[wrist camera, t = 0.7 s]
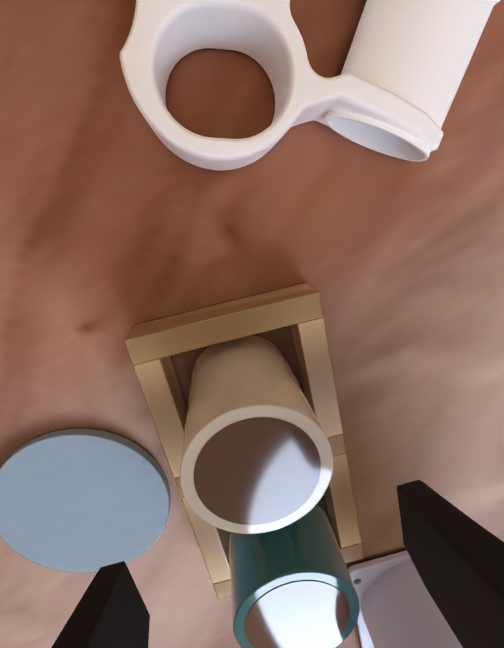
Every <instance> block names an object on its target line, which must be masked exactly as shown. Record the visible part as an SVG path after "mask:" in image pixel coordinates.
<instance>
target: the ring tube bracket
mask: <svg viewBox="0 0 504 648" xmlns="http://www.w3.org/2000/svg"><path fill="white" fill-rule="evenodd" d="M499 1H500V0H367V1H366V4H365V7H364V10H363V12H362V15H361V18H360V21H359V24H358V27H357V30H356V32H355V35H354V38H353V41H352V44H351V47H350V50H349V52H348V55H347V58H346V61H345V64H344V67H343V70H342V72H341V75H339V76H335V77H332V78H324V77H321V76H319V75H318V74H316V73H315V72H314V71H313V69H312V68H311V66H310V64H309V61H308V57H307V52H306V48H305V45H304V42H303V39H302V36H301V34H300V32H299V30H298V28H297V26H296V24H295V22H294V20H293V18H292V16H291V12H290V0H136V7H135V14H134V19H133V23H132V27H131V30H130V33H129V36H128V38H127V40H126V43H125V45H124V46H123V48H122V50H121V52H120V55H119V56H120V62H121V67H122V71H123V75H124V78H125V81H126V84H127V87H128V89H129V92H130V94H131V96H132V98H133V100H134V102H135V104H136V106H137V107H138V109H139V111H140V112H141V114H142V115H143V117H144V118H145V120H146V121H147V122H148V124H149V125H150V127H151V128H152V130H153V131H154V133H155V134H156V135H157V137H158V138H159V139H160V141H161V142H162V143H163V144H164V145H165V146H166V147H167V148H168V149H169V150H170V151H172V152H173V153H174V154H175V155H177V156H178V157H180V158H181V159H183V160H184V161H186V162H188V163H190V164H192V165H195V166H198V167H201V168H205V169H210V170H232V169H237V168H241V167H244V166H246V165H249V164H251V163H253V162H255V161H256V160H258V159H260V158H261V157H262V156H264V155H265V154H266V153H267V152H268V151H269V150H270V149H271V148H272V147H273V146H274V145H275V144H276V143H277V142H278V141H279V140H280V139H281V138H282V136H283V135H284V134H285V133H286V132H287V131H288V130H289V129H290V127H293V126H296V125H299V124H302V123H305V122H308V121H312V120H315V121H317V122H320V123H322V124H324V125H327V126H329V127H330V128H331V129H333V130H334V131H335V132H337V133H339V134H340V135H342V136H344V137H345V138H347V139H349V140H351V141H353V142H355V143H357V144H359V145H362V146H364V147H366V148H369V149H371V150H374V151H377V152H380V153H383V154H386V155H389V156H393V157H396V158H400V159H404V160H409V161H425V160H427V159H428V157H429V155H430V152H431V151H434V150H436V149H437V148H438V146H439V144H440V141H441V139H442V137H443V134H444V133H443V131H442V130H441V127H442V124H443V122H444V120H445V118H446V115H447V113H448V111H449V108H450V106H451V104H452V101H453V99H454V97H455V94H456V92H457V90H458V87H459V85H460V83H461V80H462V78H463V76H464V73H465V71H466V69H467V66H468V64H469V62H470V59H471V57H472V55H473V52H474V50H475V48H476V45H477V43H478V41H479V38H480V36H481V34H482V31H483V29H484V27H485V24H486V22H487V20H488V18H489V15H490V13H491V11H492V8H493V6H494V5H495V4H496V3H498V2H499ZM204 48H213V49H225V50H235V51H239V52H242V53H244V54H246V55H248V56H250V57H252V58H253V59H254V60H256V61H257V62H258V63H259V64H260V65H261V66H262V68H263V69H264V70H265V72H266V73H267V75H268V77H269V79H270V81H271V83H272V86H273V90H274V95H275V112H274V117H273V121H272V124H271V125H270V126H269V127H268V128H267V129H265V130H264V131H262V132H261V133H259V134H257V135H255V136H252V137H249V138H243V139H228V138H211V137H204V136H201V135H198V134H195V133H193V132H191V131H189V130H187V129H186V128H184V127H183V126H182V125H180V124H179V123H178V122H177V121H176V120H175V119H174V118H173V117H172V116H171V114H170V113H169V112H168V110H167V107H166V99H165V94H166V86H167V81H168V78H169V76H170V73H171V71H172V70H173V68H174V66H175V65H176V64H177V63H178V61H179V60H180V59H182V58H183V57H184V56H185V55H187V54H189V53H190V52H192V51H195V50H198V49H204Z"/></svg>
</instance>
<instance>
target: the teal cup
mask: <svg viewBox="0 0 504 648" xmlns="http://www.w3.org/2000/svg"><path fill="white" fill-rule="evenodd" d="M228 543H229V561H230V580H231V598H232V617H233V631H234V635H235V638H236V640H237V642H238V644H239V645H240V646H241V648H335V647H337V646H338V645H339V644H341V643H342V642H343V641H344V640H345V639H346V638H347V637H348V636H349V634H350V633H351V632H352V630H353V629H354V627H355V625H356V623H357V620H358V617H359V612H360V603H359V598H358V594H357V592H356V589H355V587H354V584H353V581H352V579H351V576H350V574H349V571H348V568H347V566H346V563H345V561H344V558H343V556H342V553H341V550H340V548H339V545H338V543H337V540H336V537H335V535H334V532H333V530H332V527H331V525H330V522H329V519H328V517H327V514H326V512H325V509H324V506H323V504H322V501H321V499H320V501H319V502H318V503H317V504H316V505H315V507H314V508H313V509H311V510H310V511H309V512H308V513H307V514H306V515H304V516H303V517H302V518H300V519H299V520H297V521H295V522H294V523H292V524H290V525H288V526H285V527H283V528H280V529H277V530H274V531H270V532H265V533H257V534H242V533H234V532H229V531H228Z"/></svg>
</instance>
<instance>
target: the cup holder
mask: <svg viewBox="0 0 504 648" xmlns="http://www.w3.org/2000/svg"><path fill="white" fill-rule="evenodd" d="M289 325H290V326H291V331H292V336H293V341H294V346H295V351H296V356H297V361H298V366H299V371H300V376H301V381H302V386H303V391H304V395H305V396H306V398H307V400H308V402H309V404H310V406H311V408H312V410H313V412H314V414H315V416H316V418H317V419H318V421H319V423H320V425H321V427H322V429H323V431H324V433H325V435H326V437H327V439H328V441H329V443H330V446H331V450H332V455H333V471H332V476H331V480H330V482H329V485H328V487H327V489H326V491H325V493H324V494H325V499H326V504H327V509H328V514H329V518H328V519H329V522H330V525H331V527H332V530H333V532H334V535H335V537H336V540H337V543H338V545H339V548H340V550H341V553H342V556H343V558H344V561H345V563H349V562H352V561H356V560H359V559H363V558H364V554H363V548H362V543H361V537H360V531H359V526H358V520H357V514H356V508H355V502H354V496H353V490H352V484H351V478H350V472H349V466H348V461H347V455H346V449H345V443H344V437H343V430H342V424H341V418H340V412H339V407H338V401H337V395H336V389H335V383H334V377H333V371H332V365H331V359H330V353H329V347H328V342H327V336H326V330H325V324H324V318H323V313H322V307H321V301H320V295H319V292H318V291H317V290H315V289H314V288H313V287H311V286H310V285H308V284H307V283H303V284H299V285H295V286H291V287H287V288H283V289H279V290H275V291H270V292H266V293H262V294H258V295H254V296H250V297H246V298H242V299H238V300H234V301H230V302H226V303H222V304H218V305H214V306H210V307H206V308H202V309H198V310H194V311H190V312H186V313H182V314H178V315H174V316H170V317H166V318H162V319H157V320H153V321H149V322H145V323H141V324H137V325H135V326H134V327H133V328H132V330H131V331H130V333H129V334H128V335H127V337H126V338H125V340H124V342H125V345H126V347H127V350H128V353H129V356H130V358H131V361H132V364H133V367H134V369H135V372H136V375H137V378H138V380H139V383H140V386H141V389H142V391H143V394H144V397H145V400H146V402H147V405H148V408H149V410H150V413H151V416H152V419H153V421H154V424H155V427H156V430H157V432H158V435H159V438H160V441H161V443H162V446H163V449H164V452H165V454H166V457H167V460H168V463H169V465H170V468H171V471H172V474H173V476H174V478H175V481H176V484H177V487H178V490H179V492H180V495H181V496H182V501H183V503H184V506H185V509H186V512H187V514H188V517H189V520H190V523H191V525H192V528H193V531H194V534H195V536H196V539H197V542H198V545H199V547H200V550H201V553H202V556H203V558H204V561H205V564H206V567H207V569H208V572H209V575H210V578H211V580H212V583H213V586H214V589H215V592H216V595H217V597H218V599H220V598H224V597H227V596H231V580H230V561H229V543H228V533H227V531H225V530H222V529H219V528H217V527H215V526H213V525H211V524H209V523H207V522H206V521H204V520H203V519H202V518H201V517H199V516H198V515H197V514H196V513H195V512H194V511H193V510H192V508H191V507H190V506H189V504H188V503H187V501H186V499H185V497H184V494H183V492H182V488H181V485H180V464H181V456H182V448H183V439H184V431H185V423H186V415H187V406H186V403H185V400H184V397H183V394H182V391H181V388H180V385H179V382H178V378H177V375H176V372H175V369H174V366H173V363H172V360H171V357H170V355H174V354H178V353H182V352H186V351H190V350H194V349H198V348H202V347H206V346H210V345H214V344H218V343H222V342H226V341H230V340H234V339H238V338H242V337H246V336H250V335H254V334H257V333H261V332H265V331H269V330H273V329H277V328H281V327H285V326H289Z"/></svg>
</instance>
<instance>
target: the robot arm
mask: <svg viewBox="0 0 504 648" xmlns="http://www.w3.org/2000/svg"><path fill="white" fill-rule="evenodd" d="M397 493H398V501H399V509H400V517H401V525H402V533H403V542H404V545H405V547H406V549H407V550H406V551H402V552H398V553H395V554H391V555H388V556H384V557H381V558H377V559H373V560H370V561H366V562H363V563H359V564H356V565H352V566H350V567H349V568H348V571H349V574H350V576H351V579H352V581H353V584H354V587H355V589H356V592H357V594H358V598H359V603H360V612H359V617H358V620H357V627H358V633H359V638H360V643H361V648H504V542H503V541H501V540H500V539H499V538H497V537H496V536H494V535H493V534H491V533H490V532H489V531H487V530H486V529H484V528H483V527H482V526H480V525H479V524H478V523H476V522H475V521H473V520H472V519H471V518H469V517H468V516H467V515H465V514H464V513H463V512H461V511H460V510H459V509H457V508H456V507H455V506H453V505H452V504H451V503H449V502H448V501H447V500H446V499H444V498H443V497H442V496H440V495H439V494H438V493H436V492H435V491H434V490H433V489H431V488H430V487H429V486H427V485H426V484H425V483H424V482H422V481H420V480H416V481H413V482H409V483H406V484H402V485H398V486H397ZM149 620H150V615H149V613H148V611H147V609H146V606H145V604H144V602H143V600H142V598H141V596H140V593H139V591H138V589H137V587H136V585H135V583H134V581H133V578H132V576H131V574H130V572H129V570H128V568H127V566H126V563H125V561H122V562H118V563H115V564H111V565H107V566H104V567H101V568H100V569H99V571H98V572H97V574H96V576H95V577H94V579H93V580H92V582H91V584H90V585H89V587H88V589H87V590H86V592H85V593H84V595H83V597H82V598H81V600H80V602H79V603H78V605H77V607H76V608H75V610H74V612H73V613H72V615H71V617H70V618H69V620H68V622H67V623H66V625H65V626H64V628H63V630H62V631H61V633H60V635H59V636H58V638H57V640H56V641H55V643H54V644H53V646H52V648H148V639H149Z"/></svg>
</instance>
